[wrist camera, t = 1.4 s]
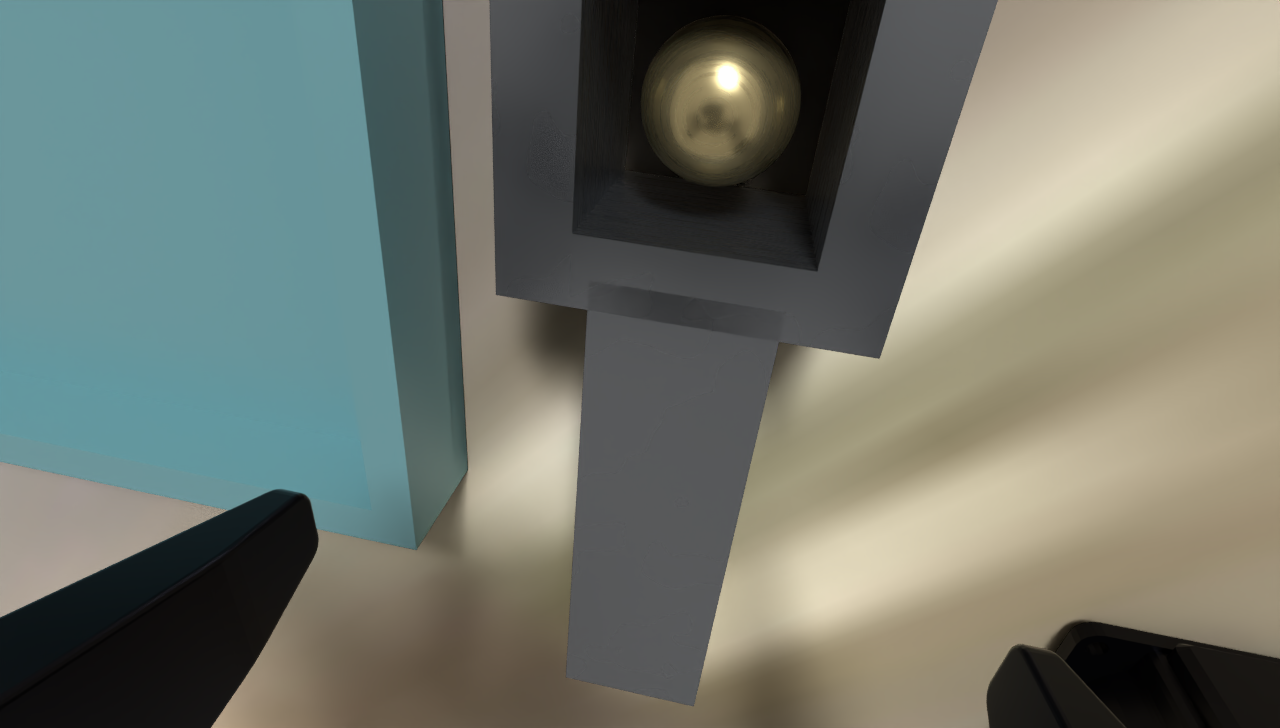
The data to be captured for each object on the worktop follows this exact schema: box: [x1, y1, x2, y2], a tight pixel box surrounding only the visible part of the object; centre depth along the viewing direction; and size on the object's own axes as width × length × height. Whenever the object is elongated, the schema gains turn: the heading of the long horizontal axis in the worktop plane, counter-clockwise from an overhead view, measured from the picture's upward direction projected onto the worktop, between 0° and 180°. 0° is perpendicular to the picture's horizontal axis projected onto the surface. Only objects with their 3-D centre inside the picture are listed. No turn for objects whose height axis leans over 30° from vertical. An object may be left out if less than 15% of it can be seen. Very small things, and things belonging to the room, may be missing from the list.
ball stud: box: [641, 15, 801, 187], centre depth 10 cm, size 2×2×4 cm
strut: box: [490, 0, 998, 706], centre depth 13 cm, size 16×6×4 cm, turn 175°
